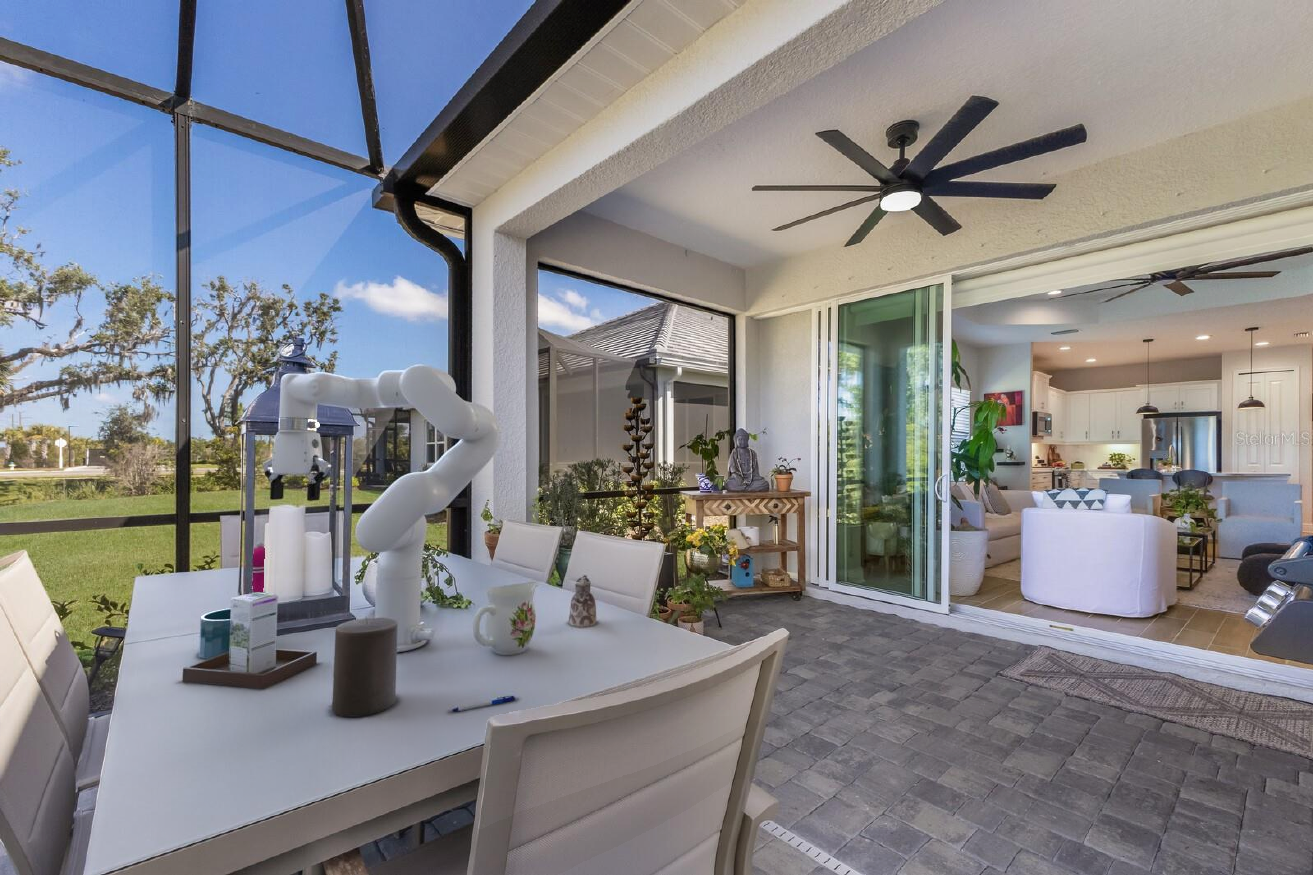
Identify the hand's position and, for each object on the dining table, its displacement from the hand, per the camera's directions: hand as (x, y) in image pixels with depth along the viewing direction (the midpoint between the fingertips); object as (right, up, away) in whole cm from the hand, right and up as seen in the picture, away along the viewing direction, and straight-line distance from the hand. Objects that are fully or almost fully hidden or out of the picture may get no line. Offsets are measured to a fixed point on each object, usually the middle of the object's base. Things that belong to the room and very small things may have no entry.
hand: (294, 499), depth 134 cm
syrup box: (+5, -31, -22) cm, 38 cm away
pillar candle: (+34, -32, -35) cm, 59 cm away
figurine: (+65, -34, +16) cm, 75 cm away
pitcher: (+51, -33, -7) cm, 61 cm away
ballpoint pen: (+55, -32, -35) cm, 72 cm away
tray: (+5, -32, -22) cm, 39 cm away
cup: (-8, -32, -9) cm, 34 cm away
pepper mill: (-20, -33, +16) cm, 42 cm away
